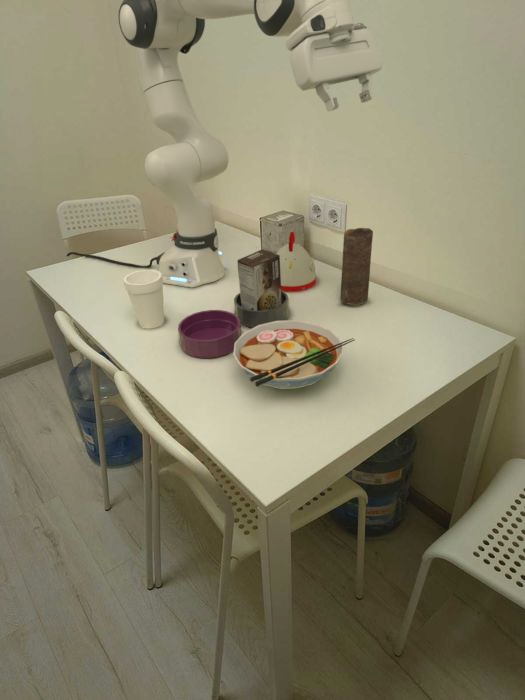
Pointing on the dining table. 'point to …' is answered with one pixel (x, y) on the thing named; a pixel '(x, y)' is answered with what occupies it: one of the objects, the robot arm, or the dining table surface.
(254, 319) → the grey bowl
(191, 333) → the plum bowl
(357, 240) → the brown tall cylinder
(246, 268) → the printed food box
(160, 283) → the foam cup
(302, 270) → the white chicken egg cooker
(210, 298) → the dining table surface
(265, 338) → the ramen bowl
